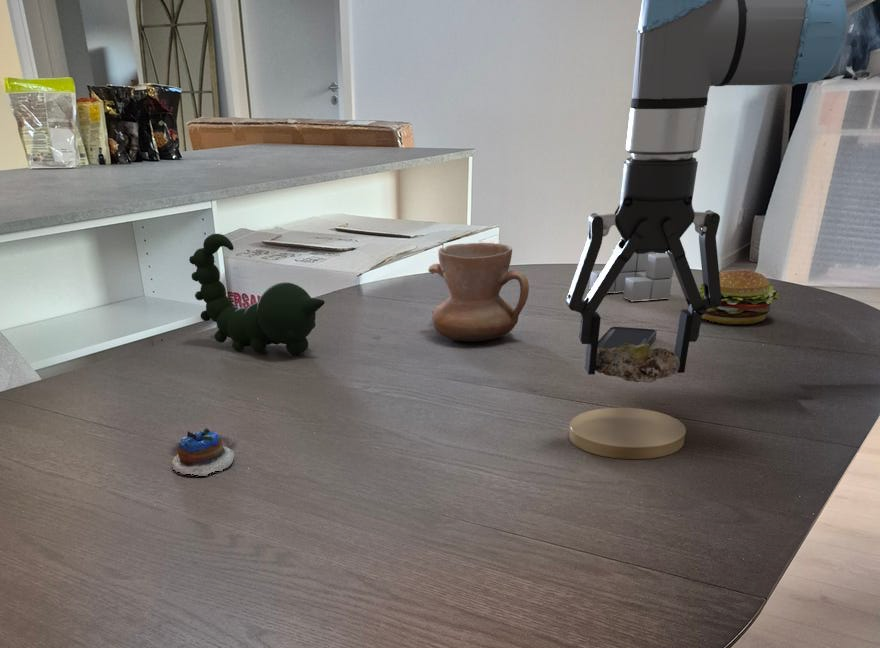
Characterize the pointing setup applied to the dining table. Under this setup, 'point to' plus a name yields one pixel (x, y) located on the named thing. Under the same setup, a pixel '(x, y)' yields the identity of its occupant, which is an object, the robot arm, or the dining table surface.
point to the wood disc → (627, 433)
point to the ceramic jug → (476, 292)
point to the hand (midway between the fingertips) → (633, 370)
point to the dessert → (202, 453)
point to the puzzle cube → (643, 277)
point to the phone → (626, 337)
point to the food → (741, 298)
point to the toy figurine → (254, 307)
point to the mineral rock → (637, 362)
